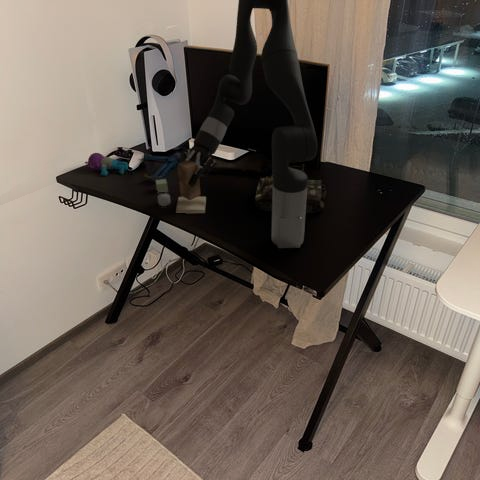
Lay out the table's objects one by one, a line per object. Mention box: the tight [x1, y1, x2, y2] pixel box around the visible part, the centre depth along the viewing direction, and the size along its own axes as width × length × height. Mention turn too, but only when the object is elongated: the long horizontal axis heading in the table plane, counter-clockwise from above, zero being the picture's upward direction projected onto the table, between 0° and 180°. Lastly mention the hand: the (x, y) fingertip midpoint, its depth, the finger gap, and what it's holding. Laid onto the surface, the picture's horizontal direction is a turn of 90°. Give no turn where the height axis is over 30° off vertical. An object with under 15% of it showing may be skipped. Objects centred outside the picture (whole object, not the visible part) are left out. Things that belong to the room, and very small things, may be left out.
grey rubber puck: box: [157, 193, 172, 206], centre depth 149 cm, size 4×4×3 cm
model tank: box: [254, 164, 328, 214], centre depth 145 cm, size 13×22×15 cm, turn 82°
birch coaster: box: [175, 196, 207, 214], centre depth 147 cm, size 9×9×1 cm
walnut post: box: [177, 160, 202, 200], centre depth 143 cm, size 4×4×11 cm
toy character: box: [142, 152, 184, 183], centre depth 171 cm, size 30×4×25 cm
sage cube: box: [155, 178, 169, 194], centre depth 157 cm, size 4×4×4 cm
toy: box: [84, 152, 129, 176], centre depth 172 cm, size 12×7×15 cm
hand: (184, 183), depth 142 cm, fingers closed on walnut post, 4 cm apart
